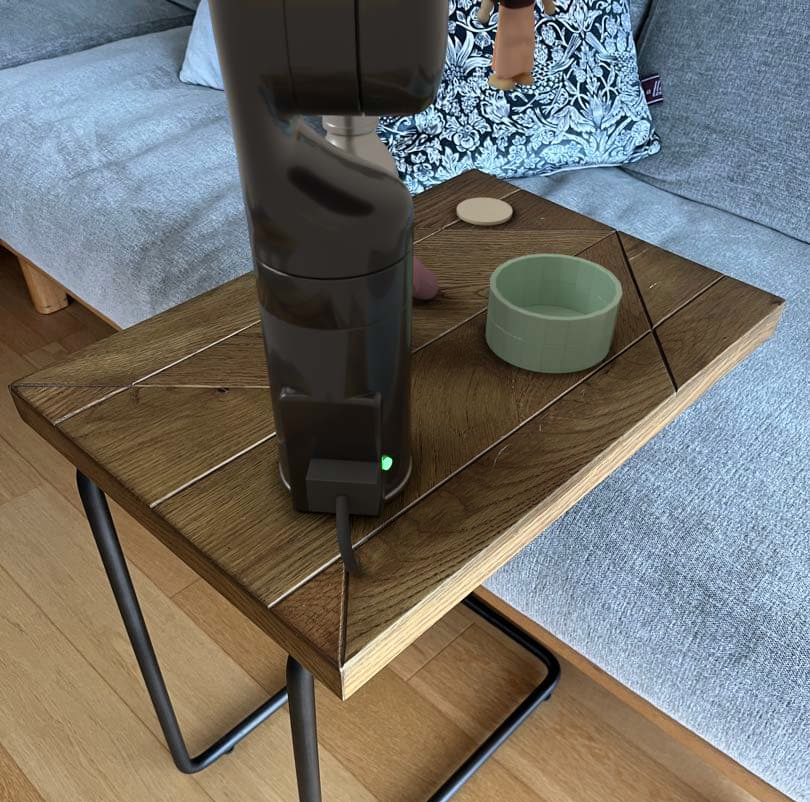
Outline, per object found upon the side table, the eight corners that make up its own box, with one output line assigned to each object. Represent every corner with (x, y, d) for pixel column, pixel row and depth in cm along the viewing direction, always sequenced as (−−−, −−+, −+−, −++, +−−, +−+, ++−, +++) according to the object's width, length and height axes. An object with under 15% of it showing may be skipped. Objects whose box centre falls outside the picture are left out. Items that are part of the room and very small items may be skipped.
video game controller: (332, 301, 78) (309, 252, 71) (353, 262, 79) (332, 211, 72) (424, 327, 74) (409, 279, 68) (445, 287, 76) (432, 236, 69)
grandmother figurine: (522, 68, 76) (539, -102, 67) (552, 80, 74) (574, -94, 65) (461, 87, 73) (471, -89, 63) (491, 100, 71) (506, -80, 62)
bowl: (616, 377, 67) (628, 323, 63) (484, 369, 67) (489, 315, 64) (605, 308, 74) (615, 256, 71) (486, 302, 75) (491, 250, 71)
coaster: (512, 226, 85) (512, 223, 85) (455, 224, 86) (455, 220, 85) (512, 202, 90) (512, 198, 89) (457, 199, 90) (457, 196, 90)
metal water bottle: (304, 348, 69) (280, 92, 55) (370, 324, 72) (363, 74, 58) (346, 385, 66) (332, 121, 51) (413, 357, 68) (418, 100, 54)
